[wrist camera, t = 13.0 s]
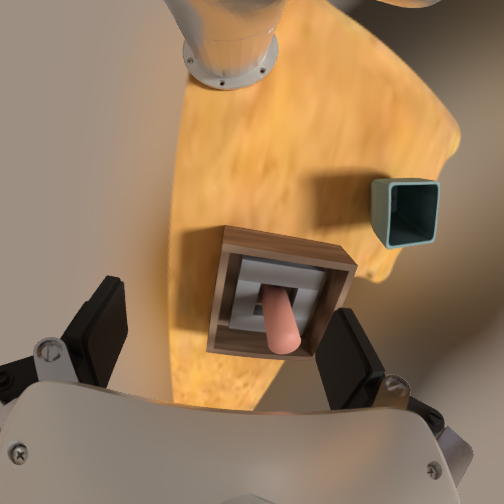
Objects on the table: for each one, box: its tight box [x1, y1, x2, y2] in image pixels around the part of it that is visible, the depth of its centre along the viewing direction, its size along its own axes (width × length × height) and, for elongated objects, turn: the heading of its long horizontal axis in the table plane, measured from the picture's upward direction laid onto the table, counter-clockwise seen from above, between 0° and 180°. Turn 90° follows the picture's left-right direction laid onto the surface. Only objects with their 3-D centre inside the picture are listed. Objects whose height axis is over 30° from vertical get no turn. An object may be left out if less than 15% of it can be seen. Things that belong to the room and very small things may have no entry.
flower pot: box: [370, 178, 440, 249], centre depth 34 cm, size 9×9×9 cm
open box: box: [206, 225, 358, 361], centre depth 40 cm, size 18×18×7 cm
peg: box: [260, 284, 301, 354], centre depth 37 cm, size 4×4×12 cm
